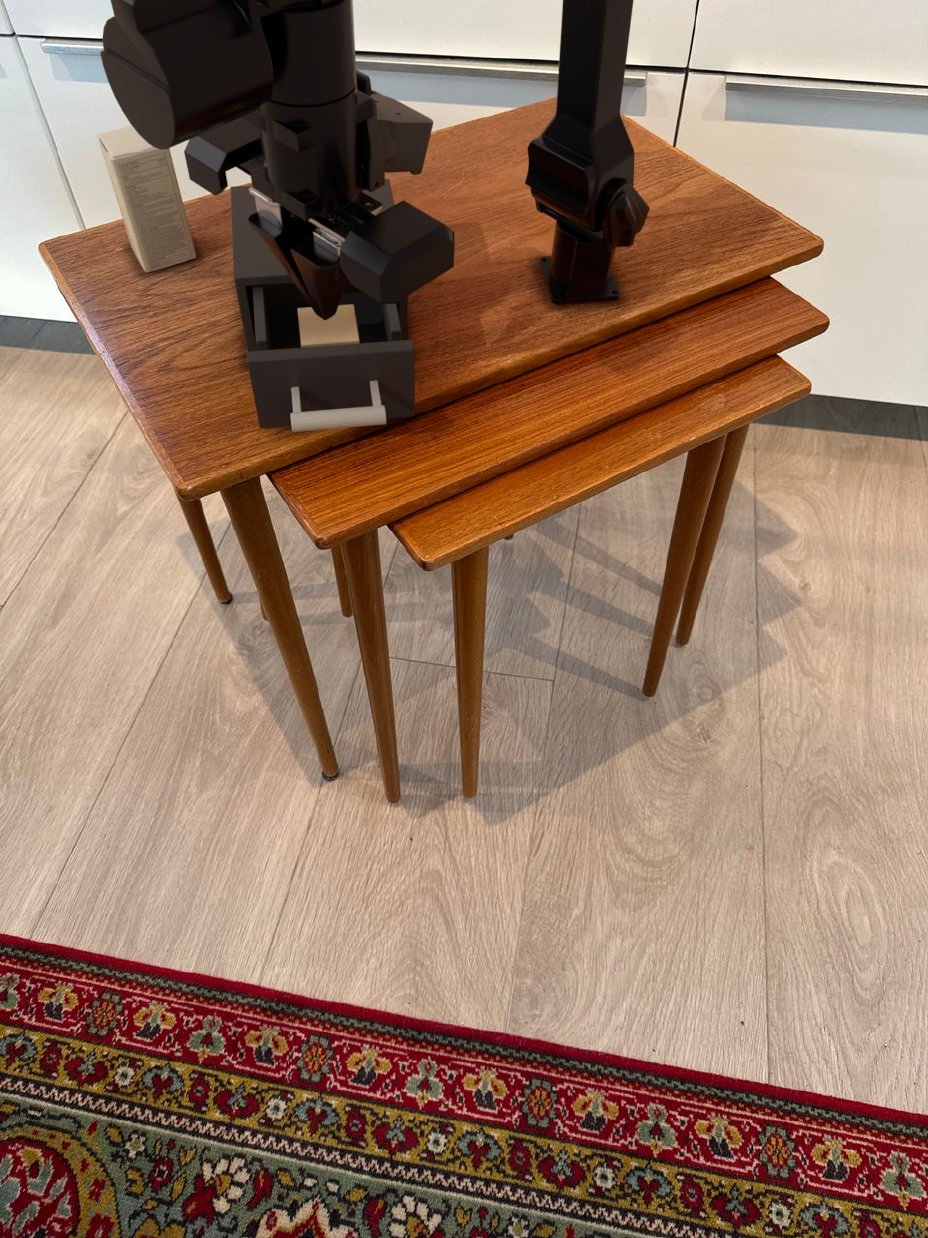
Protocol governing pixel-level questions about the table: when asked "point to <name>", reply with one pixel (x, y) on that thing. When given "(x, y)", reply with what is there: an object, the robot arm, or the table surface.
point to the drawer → (328, 365)
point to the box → (147, 199)
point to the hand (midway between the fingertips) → (326, 315)
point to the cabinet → (274, 258)
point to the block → (328, 327)
